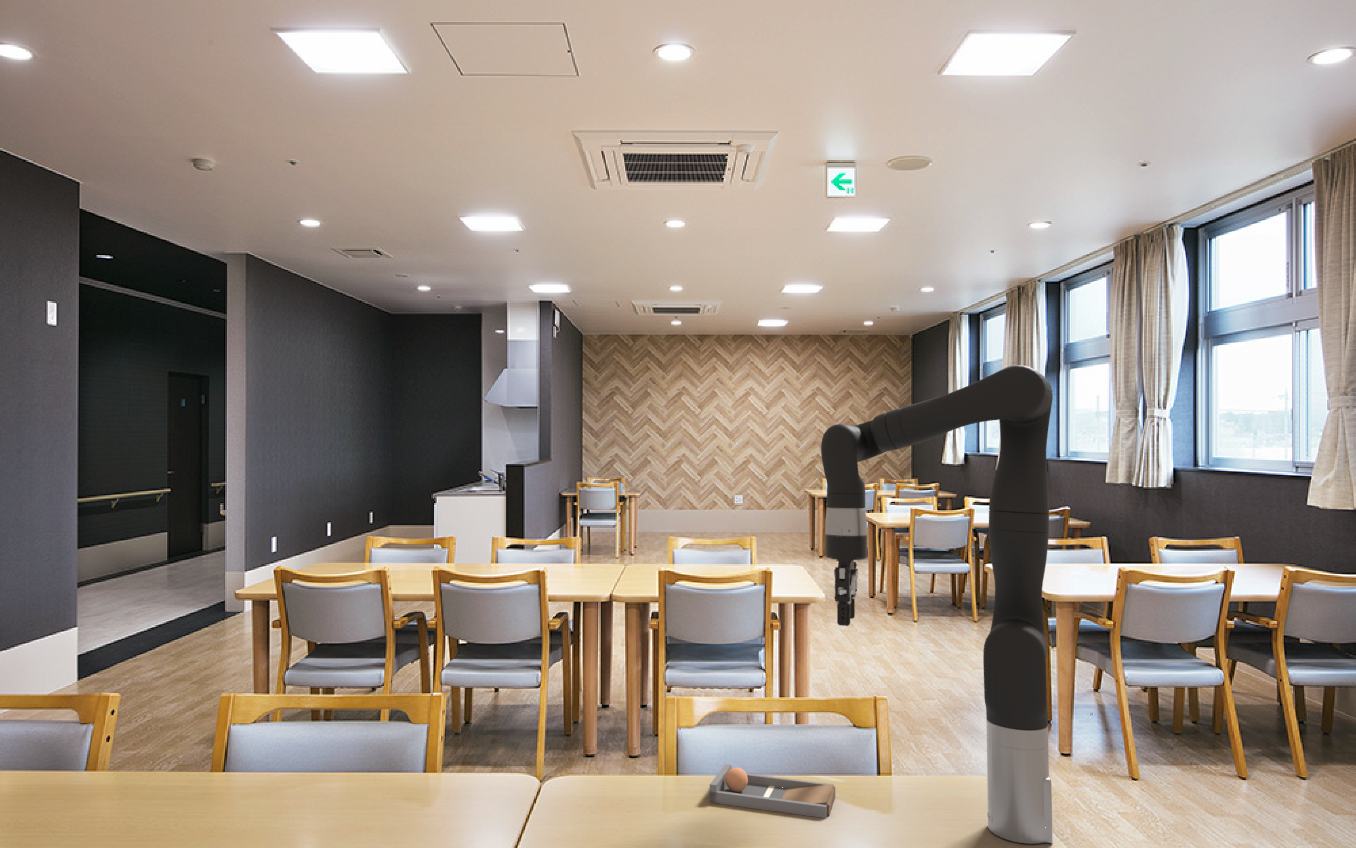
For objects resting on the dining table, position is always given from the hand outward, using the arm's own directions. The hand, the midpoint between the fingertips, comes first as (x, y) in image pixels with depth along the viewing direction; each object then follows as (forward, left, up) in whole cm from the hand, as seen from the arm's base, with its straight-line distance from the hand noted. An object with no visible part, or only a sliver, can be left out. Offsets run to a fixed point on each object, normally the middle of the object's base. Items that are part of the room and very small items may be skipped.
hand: (846, 621), depth 147 cm
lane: (+12, +8, -30) cm, 33 cm away
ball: (+18, +8, -28) cm, 34 cm away
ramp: (+6, +8, -30) cm, 32 cm away
